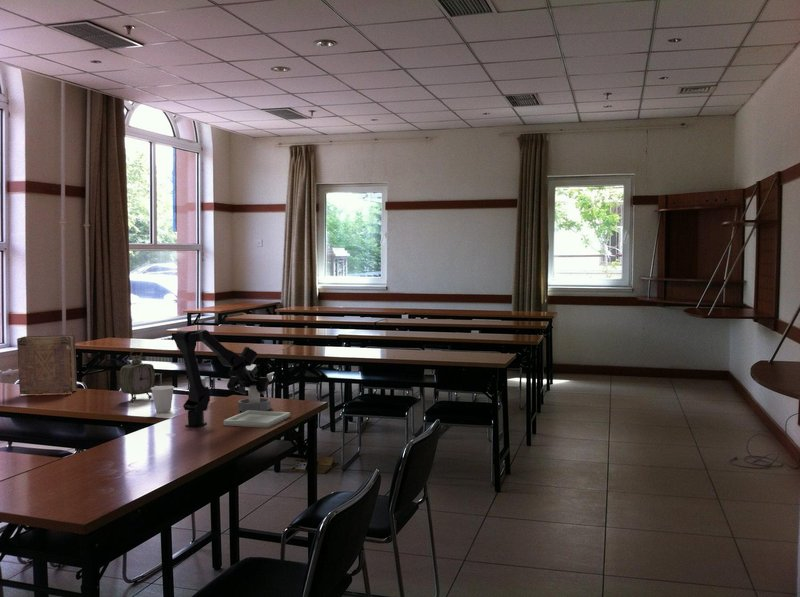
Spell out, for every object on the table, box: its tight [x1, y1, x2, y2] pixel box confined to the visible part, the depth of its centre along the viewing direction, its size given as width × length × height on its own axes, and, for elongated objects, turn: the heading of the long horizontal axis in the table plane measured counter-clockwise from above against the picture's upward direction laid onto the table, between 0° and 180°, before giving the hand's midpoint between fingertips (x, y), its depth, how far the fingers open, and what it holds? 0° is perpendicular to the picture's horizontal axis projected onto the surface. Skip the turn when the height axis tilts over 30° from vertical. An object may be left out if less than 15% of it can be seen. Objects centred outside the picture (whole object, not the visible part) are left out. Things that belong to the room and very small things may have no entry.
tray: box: [223, 410, 291, 429], centre depth 292 cm, size 20×20×2 cm
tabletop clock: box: [119, 348, 156, 403], centre depth 342 cm, size 14×9×25 cm, turn 150°
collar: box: [238, 397, 271, 413], centre depth 316 cm, size 14×14×4 cm
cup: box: [151, 385, 175, 414], centre depth 313 cm, size 10×10×11 cm
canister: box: [247, 385, 261, 403], centre depth 316 cm, size 5×5×12 cm
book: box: [16, 334, 78, 395], centre depth 363 cm, size 25×9×30 cm, turn 100°
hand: (255, 394), depth 316 cm, fingers open, 9 cm apart
